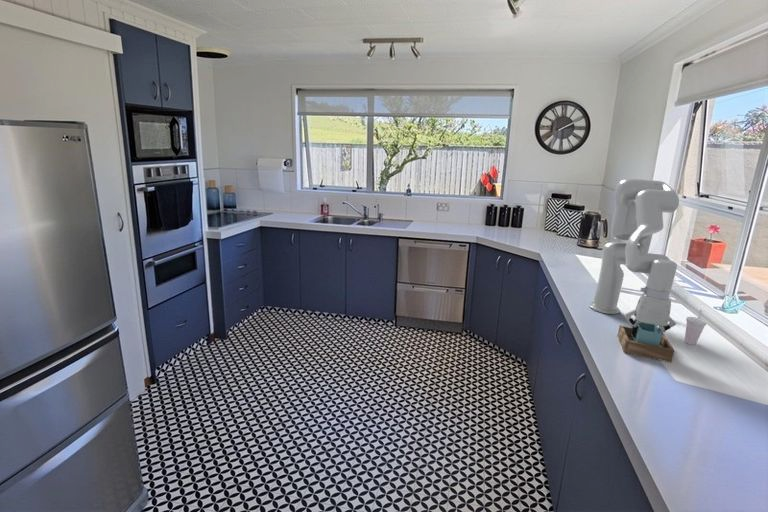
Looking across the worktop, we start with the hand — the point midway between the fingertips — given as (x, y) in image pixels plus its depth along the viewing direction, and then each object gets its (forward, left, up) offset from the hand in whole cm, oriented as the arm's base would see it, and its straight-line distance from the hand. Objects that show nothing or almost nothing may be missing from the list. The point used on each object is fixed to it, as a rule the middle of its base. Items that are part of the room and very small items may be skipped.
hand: (645, 337), depth 154 cm
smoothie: (-15, +19, -4) cm, 25 cm away
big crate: (0, 0, -4) cm, 4 cm away
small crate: (0, 0, -1) cm, 1 cm away
